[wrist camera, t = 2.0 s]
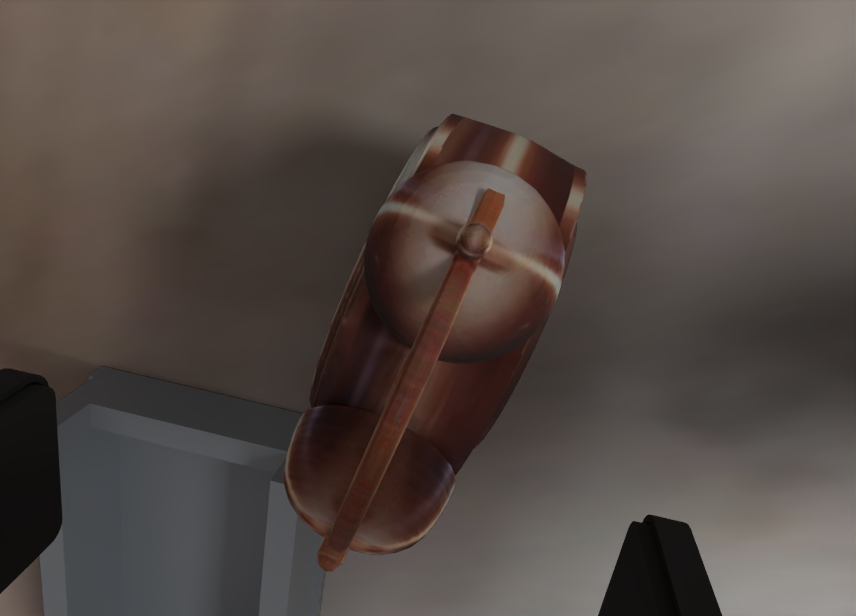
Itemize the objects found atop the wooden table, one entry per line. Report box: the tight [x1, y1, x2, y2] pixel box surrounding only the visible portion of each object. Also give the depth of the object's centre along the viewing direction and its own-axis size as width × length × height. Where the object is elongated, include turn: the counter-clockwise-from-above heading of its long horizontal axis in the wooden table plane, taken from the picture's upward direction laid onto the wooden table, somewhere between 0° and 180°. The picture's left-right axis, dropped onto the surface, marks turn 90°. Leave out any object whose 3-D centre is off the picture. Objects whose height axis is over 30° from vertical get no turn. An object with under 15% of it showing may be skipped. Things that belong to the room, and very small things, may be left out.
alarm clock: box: [284, 114, 586, 571], centre depth 18 cm, size 11×5×15 cm, turn 157°
